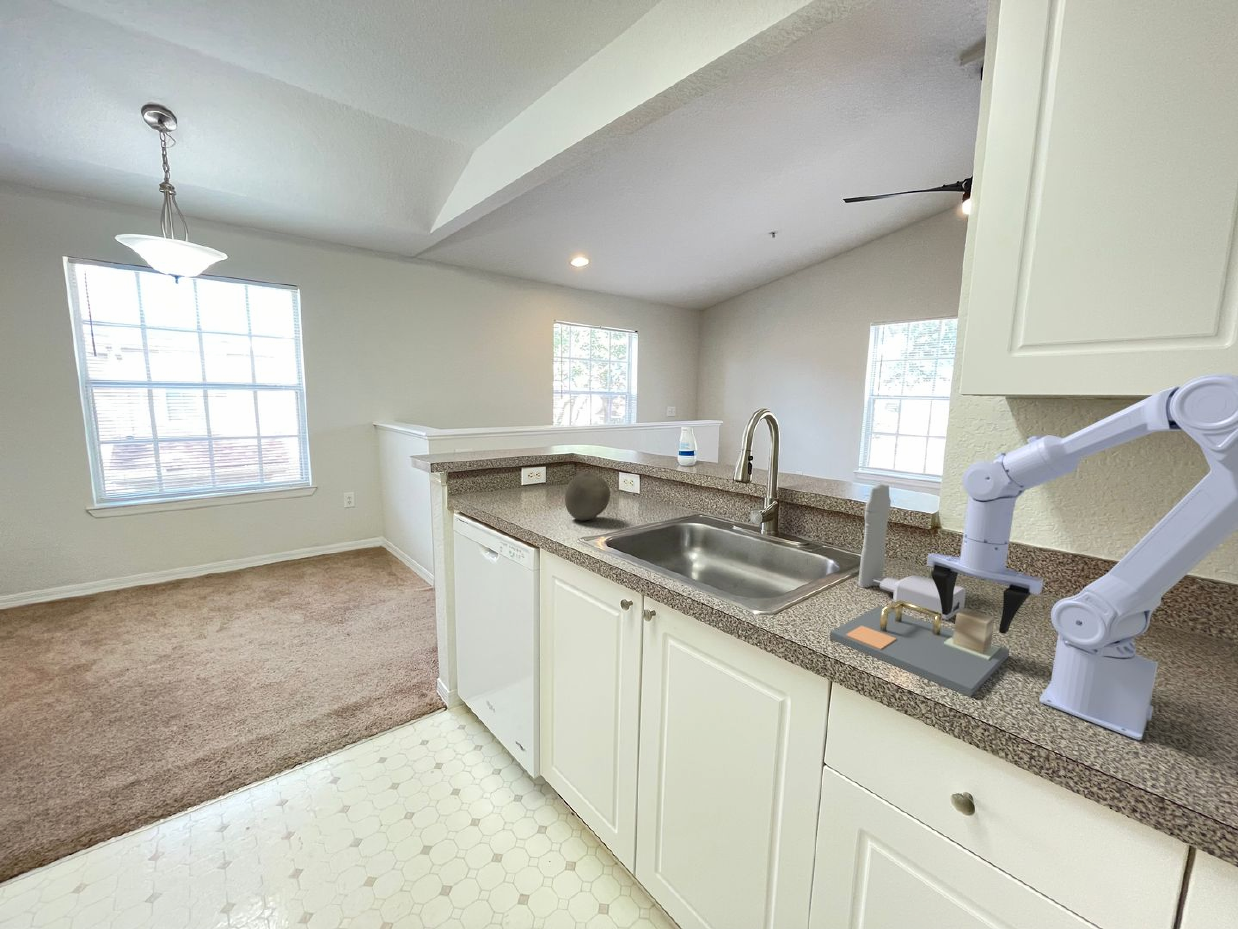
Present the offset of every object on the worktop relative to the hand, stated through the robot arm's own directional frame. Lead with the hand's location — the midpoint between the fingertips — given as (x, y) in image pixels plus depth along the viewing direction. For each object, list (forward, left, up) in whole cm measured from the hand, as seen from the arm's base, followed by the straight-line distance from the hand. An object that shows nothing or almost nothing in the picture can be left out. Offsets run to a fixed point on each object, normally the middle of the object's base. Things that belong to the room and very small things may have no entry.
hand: (974, 622), depth 78 cm
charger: (+14, -15, -6) cm, 21 cm away
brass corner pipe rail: (+8, +3, -4) cm, 9 cm away
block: (0, 0, -4) cm, 4 cm away
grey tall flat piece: (+24, -18, -6) cm, 31 cm away
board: (+6, +5, -5) cm, 9 cm away
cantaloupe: (+103, +3, -6) cm, 103 cm away
